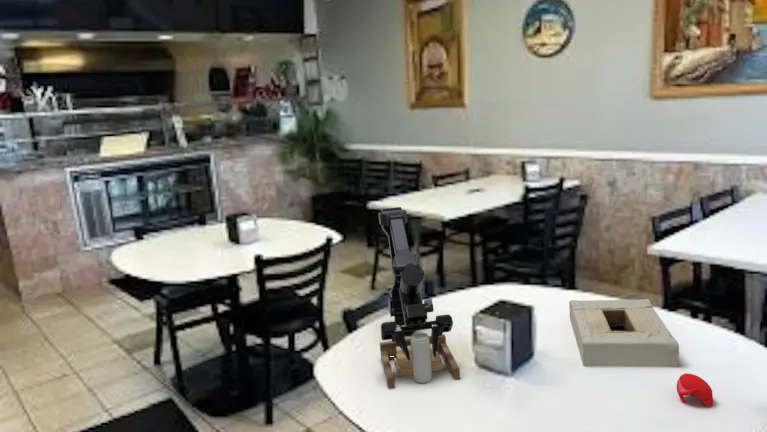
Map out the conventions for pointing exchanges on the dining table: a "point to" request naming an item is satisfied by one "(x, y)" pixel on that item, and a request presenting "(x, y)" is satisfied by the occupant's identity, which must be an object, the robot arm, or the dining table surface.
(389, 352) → the offcut rack
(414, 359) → the beverage can
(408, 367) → the offcut stack
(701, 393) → the red curved shell piece
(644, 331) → the box
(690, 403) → the dining table surface
